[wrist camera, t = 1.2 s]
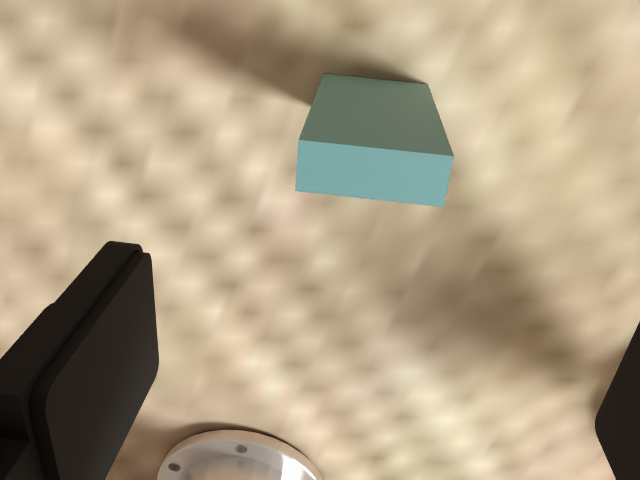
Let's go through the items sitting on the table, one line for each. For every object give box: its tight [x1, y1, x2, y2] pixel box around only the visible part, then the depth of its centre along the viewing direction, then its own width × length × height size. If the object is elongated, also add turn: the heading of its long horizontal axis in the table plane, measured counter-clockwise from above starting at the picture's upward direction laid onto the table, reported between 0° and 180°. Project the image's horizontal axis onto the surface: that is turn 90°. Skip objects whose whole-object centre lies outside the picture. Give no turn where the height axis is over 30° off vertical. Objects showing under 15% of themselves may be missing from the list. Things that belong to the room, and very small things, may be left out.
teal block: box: [295, 74, 454, 207], centre depth 23 cm, size 2×5×10 cm, turn 86°
